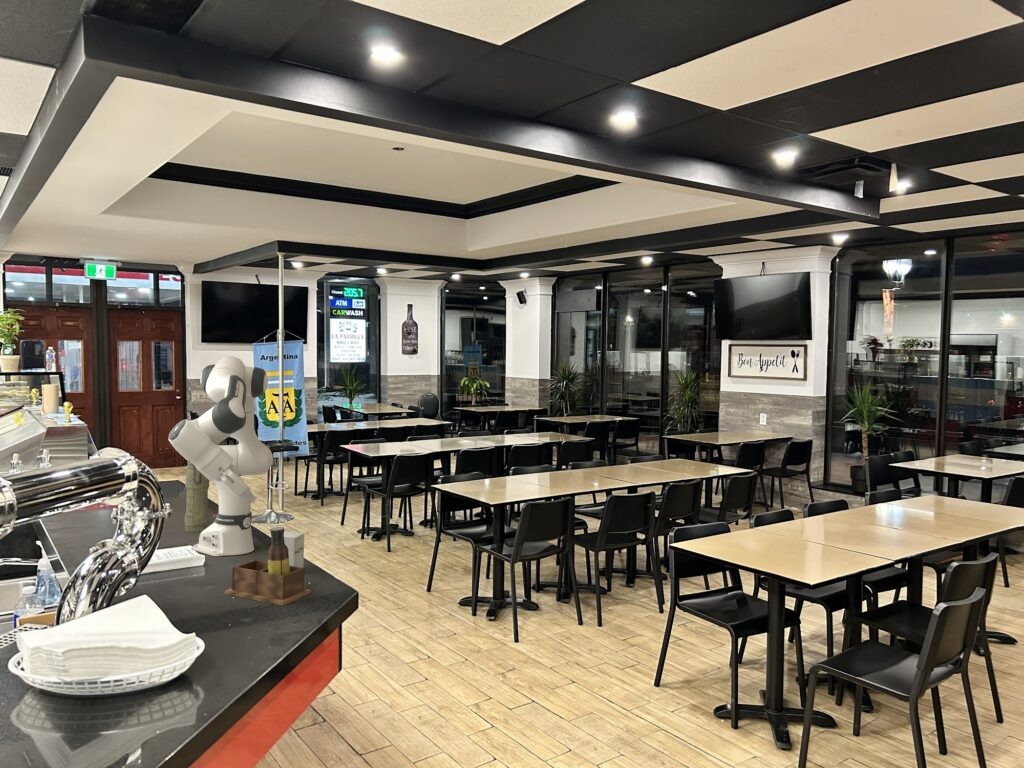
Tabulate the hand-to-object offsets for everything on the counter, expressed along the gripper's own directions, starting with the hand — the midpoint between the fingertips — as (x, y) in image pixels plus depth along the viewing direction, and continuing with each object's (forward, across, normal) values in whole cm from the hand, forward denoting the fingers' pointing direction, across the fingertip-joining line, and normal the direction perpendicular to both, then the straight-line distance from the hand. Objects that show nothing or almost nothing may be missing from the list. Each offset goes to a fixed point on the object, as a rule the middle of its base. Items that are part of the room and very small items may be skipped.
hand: (252, 497), depth 218 cm
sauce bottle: (+27, 0, +15) cm, 31 cm away
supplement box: (+34, +24, +10) cm, 42 cm away
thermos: (+17, +91, +26) cm, 96 cm away
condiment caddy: (+26, +4, +18) cm, 32 cm away
